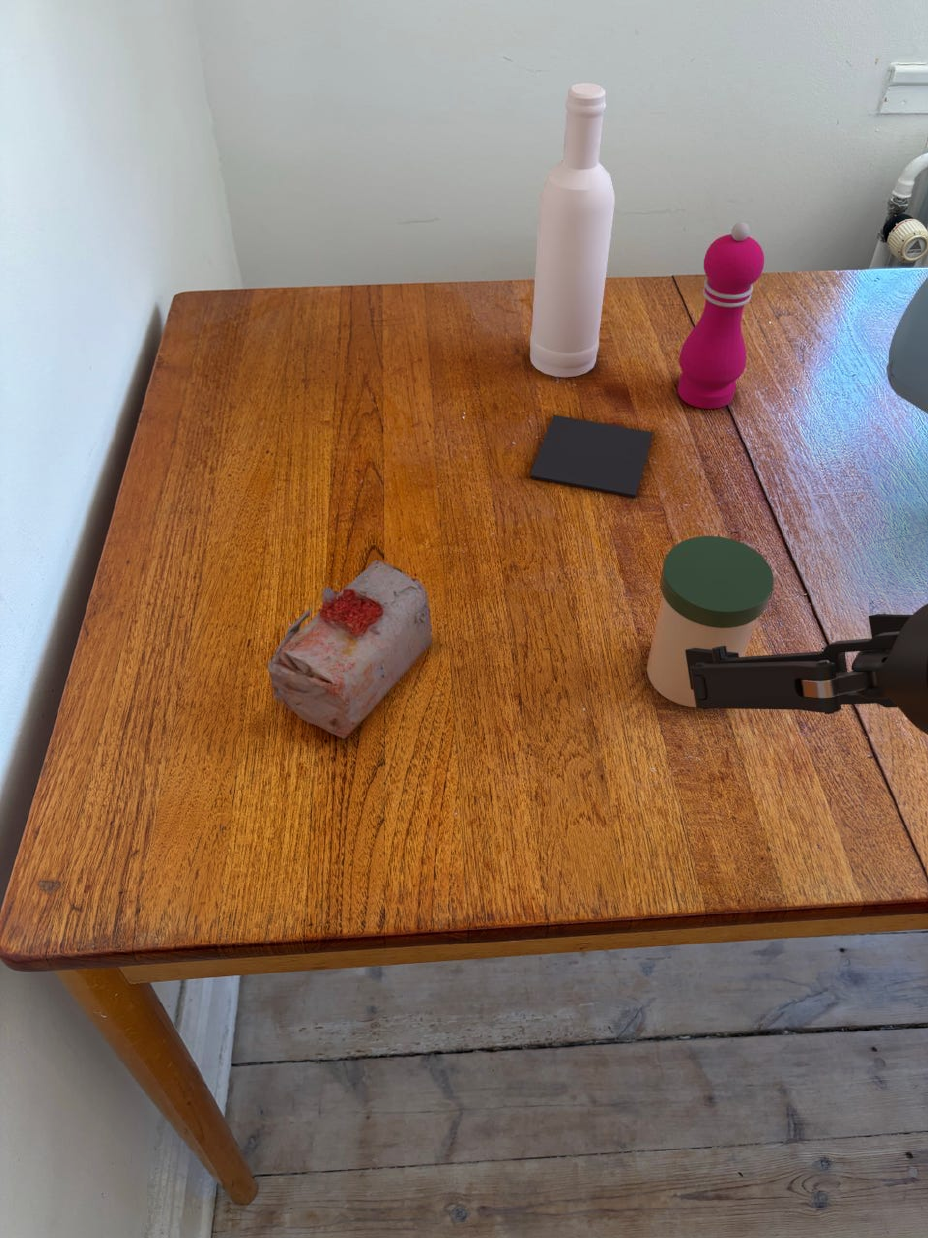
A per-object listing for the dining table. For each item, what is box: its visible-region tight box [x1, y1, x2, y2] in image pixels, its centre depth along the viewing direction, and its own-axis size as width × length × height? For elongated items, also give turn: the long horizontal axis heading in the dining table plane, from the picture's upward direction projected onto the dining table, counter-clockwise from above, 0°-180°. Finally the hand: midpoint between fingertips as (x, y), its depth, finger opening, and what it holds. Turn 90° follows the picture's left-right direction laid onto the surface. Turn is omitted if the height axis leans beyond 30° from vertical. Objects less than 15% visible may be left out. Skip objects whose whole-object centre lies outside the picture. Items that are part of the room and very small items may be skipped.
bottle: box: [529, 82, 616, 379], centre depth 108 cm, size 8×8×30 cm
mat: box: [529, 414, 654, 499], centre depth 106 cm, size 11×11×1 cm
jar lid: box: [659, 535, 775, 628], centre depth 78 cm, size 8×8×2 cm
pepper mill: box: [677, 221, 765, 410], centre depth 107 cm, size 7×7×20 cm
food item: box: [267, 560, 434, 740], centre depth 82 cm, size 14×8×10 cm, turn 147°
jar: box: [646, 593, 758, 708], centre depth 82 cm, size 8×8×12 cm
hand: (785, 651), depth 69 cm, fingers open, 13 cm apart
